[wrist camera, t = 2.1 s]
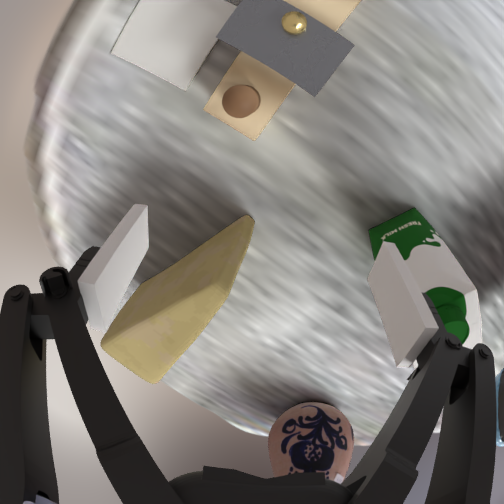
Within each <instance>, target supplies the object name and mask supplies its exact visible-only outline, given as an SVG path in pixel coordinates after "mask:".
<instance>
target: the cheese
mask: <svg viewBox="0 0 504 504" xmlns="http://www.w3.org/2000/svg"><path fill="white" fill-rule="evenodd" d="M254 224H255V221H254V220H253V219H252V218H251V217H250V216H248V215H245V216H243V217H241V218H239V219H238V220H236V221H235V222H234V223H232V224H231V225H229V226H228V227H226V228H225V229H223V230H222V231H221V232H219V233H218V234H216V235H215V236H213V237H212V238H210V239H209V240H208V241H206V242H205V243H203V244H202V245H201V246H199V247H198V248H196V249H195V250H194V251H192V252H191V253H189V254H188V255H186V256H185V257H184V258H182V259H181V260H179V261H178V262H176V263H175V264H173V265H172V266H170V267H169V268H167V269H166V270H164V271H162V272H161V273H159V274H157V275H156V276H154V277H152V278H151V279H149V280H147V281H145V282H144V283H142V284H141V285H140V286H139V287H138V288H137V290H136V291H135V292H134V294H133V295H132V296H131V297H130V299H129V300H128V301H127V302H126V304H125V305H124V306H123V308H122V309H121V310H120V312H119V313H118V315H117V316H116V318H115V319H114V321H113V322H112V324H111V325H110V327H109V329H108V330H107V332H106V333H105V335H104V337H103V338H102V340H101V347H102V349H103V350H104V351H106V353H108V354H109V355H110V356H111V357H113V358H114V359H115V360H117V361H118V362H120V363H121V364H122V365H124V366H125V367H126V368H128V369H129V370H130V371H132V372H133V373H135V374H136V375H138V376H139V377H141V378H142V379H144V380H145V381H147V382H149V383H152V384H156V383H158V382H159V381H160V380H161V378H162V377H163V376H164V375H165V374H166V372H167V371H168V370H169V369H170V368H171V367H172V365H173V364H174V363H175V362H176V361H177V360H178V359H179V358H180V356H181V355H182V354H183V353H184V352H185V351H186V350H187V349H188V348H189V346H190V345H191V344H192V343H193V342H194V341H195V340H196V338H197V337H198V336H199V335H200V334H201V332H202V331H203V330H204V328H205V327H206V326H207V324H208V323H209V322H210V320H211V319H212V318H213V316H214V315H215V314H216V312H217V311H218V310H219V309H220V307H221V306H222V305H223V303H224V302H225V300H226V299H227V297H228V295H229V293H230V290H231V288H232V285H233V283H234V280H235V278H236V275H237V273H238V270H239V268H240V266H241V263H242V261H243V259H244V256H245V254H246V251H247V249H248V246H249V243H250V240H251V236H252V233H253V228H254Z"/></svg>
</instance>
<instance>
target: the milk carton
mask: <svg viewBox="0 0 504 504" xmlns="http://www.w3.org/2000/svg"><path fill="white" fill-rule="evenodd" d="M368 231H369V235H370V240H371V245H372V251H373V256H374V260H376V257H377V255H378V253H379V250H380V248H381V245H382V243H383V241H385V242H390V243H395V245H396V247H397V249H398V250H399V252H400V254H401V256H402V257H403V259H404V261H405V263H406V265H407V266H408V268H409V270H410V272H411V274H412V276H413V277H414V279H415V281H416V283H417V285H418V287H419V289H420V291H421V292H422V293H426V294H427V295H428V297H429V298H430V299H431V300H432V302H433V304H434V306H435V308H436V310H437V312H438V314H439V316H440V318H441V320H442V322H443V324H444V326H445V328H446V330H447V332H448V333H452V334H454V335H455V336H457V337H458V338H459V340H460V341H461V343H462V346H463V347H466V348H469V349H472V348H473V347H474V346H475V345H476V344H477V343H482V330H481V328H482V319H481V314H480V306H479V299H478V293H477V289H476V287H475V286H474V285H473V283H472V282H471V280H470V279H469V277H468V276H467V275H466V273H465V271H464V270H463V268H462V267H461V265H460V264H459V262H458V261H457V260H456V258H455V257H454V255H453V254H452V252H451V251H450V250H449V248H448V247H447V246H446V244H445V243H444V241H443V240H442V239H441V237H440V236H439V235H438V233H437V232H436V231H435V230H434V228H433V227H432V226H431V225H430V224H429V223H428V221H427V220H426V219H425V218H424V217H423V216H422V215H421V214H420V213H419V212H418V211H417V210H416V208H413V209H411V210H409V211H407V212H405V213H403V214H401V215H399V216H397V217H394V218H392V219H390V220H388V221H386V222H384V223H382V224H380V225H378V226H376V227H374V228H372V229H370V230H368ZM413 366H414V369H416V368H417V367H418V363H417V360H415V361H414V363H413Z"/></svg>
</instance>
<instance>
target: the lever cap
mask: <svg viewBox="0 0 504 504" xmlns="http://www.w3.org/2000/svg"><path fill="white" fill-rule="evenodd" d="M216 38H218V39H220V40H222V41H223V42H225V43H227V44H229V45H231V46H233V47H235V48H237V49H238V50H240V51H242V52H244V53H246V54H247V55H249V56H251V57H253V58H254V59H256V60H258V61H260V62H261V63H263V64H265V65H266V66H268V67H270V68H271V69H273V70H275V71H276V72H278V73H279V74H281V75H283V76H284V77H286V78H287V79H289V80H290V81H292V82H293V83H295V84H296V85H298V86H299V87H301V88H302V89H304V90H305V91H307V92H308V93H310V94H311V95H313V96H314V97H315V96H316V95H317V94H318V92H319V91H320V90H321V88H322V87H323V86H324V84H325V83H326V82H327V80H328V79H329V78H330V76H331V75H332V74H333V72H334V71H335V70H336V69H337V67H338V66H339V65H340V63H341V62H342V61H343V60H344V58H345V57H346V56H347V54H348V53H349V52H350V51H351V49H352V48H353V47H354V44H352V43H351V42H350V41H348V40H347V39H345V38H344V37H342V36H341V35H339V34H338V33H337V32H335V31H334V30H332V29H331V28H329V27H327V26H326V25H324V24H323V23H321V22H320V21H318V20H316V19H315V18H313V17H312V16H310V15H308V14H307V13H305V12H303V11H301V10H300V9H298V8H296V7H294V6H293V5H291V4H289V3H287V2H285V1H284V0H242V1H241V2H240V3H239V5H238V6H237V7H236V9H235V10H234V12H233V13H232V14H231V16H230V17H229V18H228V20H227V21H226V23H225V24H224V26H223V27H222V28H221V30H220V31H219V33H218V34H217V36H216Z"/></svg>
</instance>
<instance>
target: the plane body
mask: <svg viewBox="0 0 504 504" xmlns="http://www.w3.org/2000/svg"><path fill="white" fill-rule="evenodd" d="M284 1H285V2H287V3H289V4H291V5H293V6H294V7H296V8H298V9H300V10H301V11H303V12H305V13H307V14H308V15H310V16H312V17H313V18H315V19H316V20H318V21H320V22H321V23H323V24H324V25H326V26H327V27H329V28H331V29H332V30H334V31H335V32H336V31H337V30H338V28H339V27H340V26H341V25H342V23H343V22H344V21H345V20H346V18H347V17H348V16H349V15H350V13H351V12H352V11H353V10H354V9H355V7H356V6H357V5H358V4H359V3H360V1H361V0H284ZM295 85H296V84H295V83H293V82H292V81H290V80H289V79H287V78H286V77H284V76H283V75H281V74H279V73H278V72H276V71H275V70H273V69H271V68H270V67H268V66H266V65H265V64H263V63H261V62H260V61H258V60H256V59H254V58H253V57H251V56H249V55H247V54H246V53H244V52H242V51H241V52H240V53H239V54H238V56H237V57H236V59H235V60H234V62H233V63H232V65H231V66H230V68H229V69H228V71H227V72H226V74H225V75H224V77H223V78H222V80H221V82H220V83H219V85H218V86H217V88H216V89H215V91H214V93H213V94H212V96H211V97H210V99H209V101H208V102H207V104H206V106H205V107H204V109H203V110H204V111H206V112H208V113H209V114H211V115H213V116H214V117H216V118H218V119H219V120H221V121H223V122H224V123H226V124H227V125H229V126H231V127H232V128H234V129H235V130H237V131H239V132H240V133H242V134H243V135H245V136H247V137H248V138H250V139H251V140H253V141H255V140H256V139H257V137H258V136H259V135H260V134H261V132H262V131H263V130H264V128H265V127H266V125H267V124H268V122H269V121H270V120H271V118H272V117H273V115H274V114H275V112H276V111H277V110H278V108H279V107H280V105H281V104H282V103H283V101H284V100H285V98H286V97H287V96H288V94H289V93H290V92H291V90H292V89H293V87H294V86H295Z"/></svg>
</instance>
